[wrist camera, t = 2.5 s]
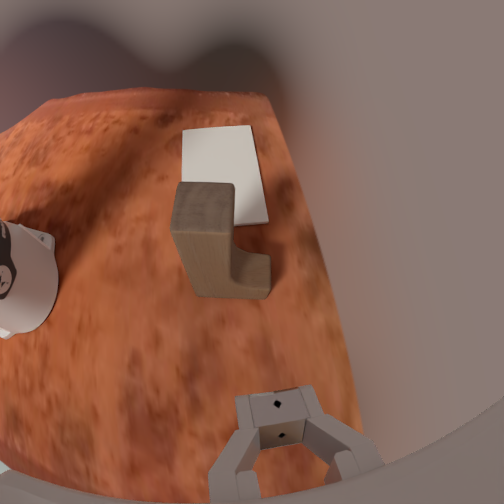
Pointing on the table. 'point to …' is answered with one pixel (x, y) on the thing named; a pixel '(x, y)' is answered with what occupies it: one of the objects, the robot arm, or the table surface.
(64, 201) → the table surface
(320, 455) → the robot arm
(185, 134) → the white board
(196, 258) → the wooden block
